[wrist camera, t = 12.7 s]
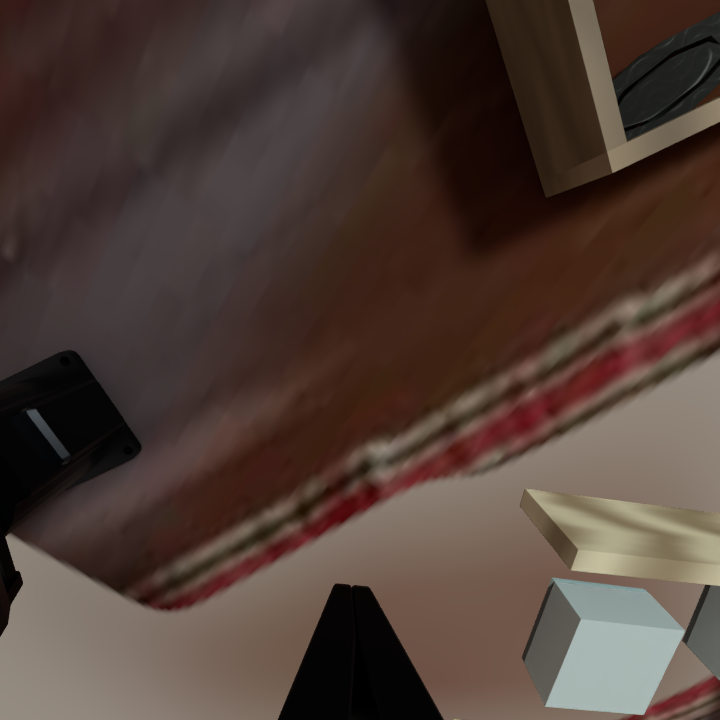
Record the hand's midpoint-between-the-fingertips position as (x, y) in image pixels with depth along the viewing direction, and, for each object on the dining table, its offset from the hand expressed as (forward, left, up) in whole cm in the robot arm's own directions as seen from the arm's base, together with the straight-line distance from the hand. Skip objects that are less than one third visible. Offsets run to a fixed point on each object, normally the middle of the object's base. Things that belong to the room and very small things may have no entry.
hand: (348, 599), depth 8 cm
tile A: (+8, -22, -12) cm, 27 cm away
